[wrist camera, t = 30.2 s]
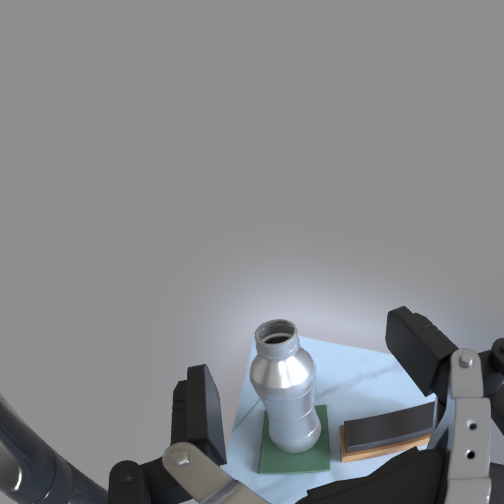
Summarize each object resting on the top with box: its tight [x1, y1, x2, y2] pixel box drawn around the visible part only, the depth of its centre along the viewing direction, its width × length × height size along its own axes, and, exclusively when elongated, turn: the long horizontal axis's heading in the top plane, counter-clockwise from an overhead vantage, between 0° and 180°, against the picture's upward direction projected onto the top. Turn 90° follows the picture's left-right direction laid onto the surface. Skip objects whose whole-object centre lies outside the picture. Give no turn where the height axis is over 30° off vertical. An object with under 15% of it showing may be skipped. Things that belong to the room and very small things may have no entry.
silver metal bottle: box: [250, 319, 321, 453], centre depth 28 cm, size 6×7×20 cm
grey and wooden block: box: [339, 401, 435, 463], centre depth 27 cm, size 14×5×4 cm, turn 84°
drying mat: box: [259, 405, 330, 474], centre depth 32 cm, size 9×11×1 cm
